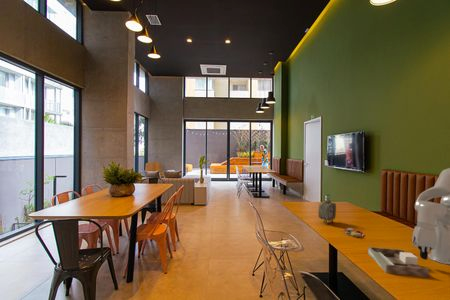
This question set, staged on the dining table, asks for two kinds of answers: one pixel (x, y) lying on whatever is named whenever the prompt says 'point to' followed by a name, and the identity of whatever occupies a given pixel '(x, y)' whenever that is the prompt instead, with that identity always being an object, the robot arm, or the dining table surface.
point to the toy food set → (354, 232)
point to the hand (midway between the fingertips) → (423, 258)
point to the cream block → (408, 258)
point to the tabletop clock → (327, 210)
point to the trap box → (395, 262)
